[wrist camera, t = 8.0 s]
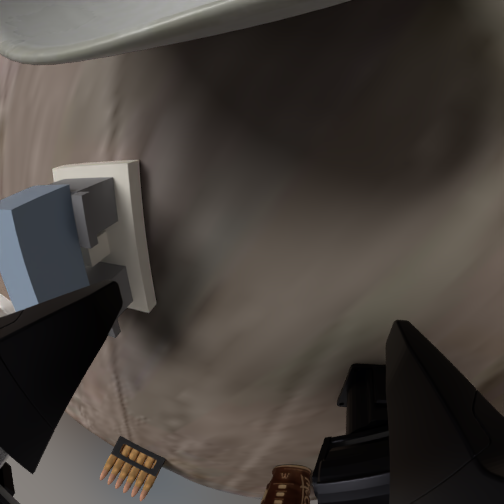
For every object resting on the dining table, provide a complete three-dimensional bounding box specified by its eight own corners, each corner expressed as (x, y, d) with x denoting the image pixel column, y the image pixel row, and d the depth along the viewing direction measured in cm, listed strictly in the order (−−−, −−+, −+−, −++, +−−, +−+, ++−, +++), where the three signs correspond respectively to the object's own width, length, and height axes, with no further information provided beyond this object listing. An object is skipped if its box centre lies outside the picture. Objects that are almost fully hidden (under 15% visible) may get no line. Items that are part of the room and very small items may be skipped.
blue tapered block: (103, 330, 21) (69, 369, 17) (68, 317, 22) (34, 350, 17) (69, 184, 16) (11, 209, 11) (33, 185, 16) (-17, 208, 12)
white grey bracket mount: (156, 303, 26) (121, 347, 20) (87, 286, 27) (50, 320, 22) (139, 159, 20) (82, 179, 14) (63, 165, 22) (11, 183, 16)
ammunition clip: (120, 438, 48) (96, 478, 37) (120, 435, 47) (95, 477, 36) (164, 460, 47) (144, 503, 37) (165, 458, 46) (144, 502, 36)
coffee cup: (288, 480, 40) (275, 540, 28) (255, 466, 38) (237, 530, 27) (327, 473, 36) (318, 539, 24) (295, 458, 34) (280, 533, 23)
